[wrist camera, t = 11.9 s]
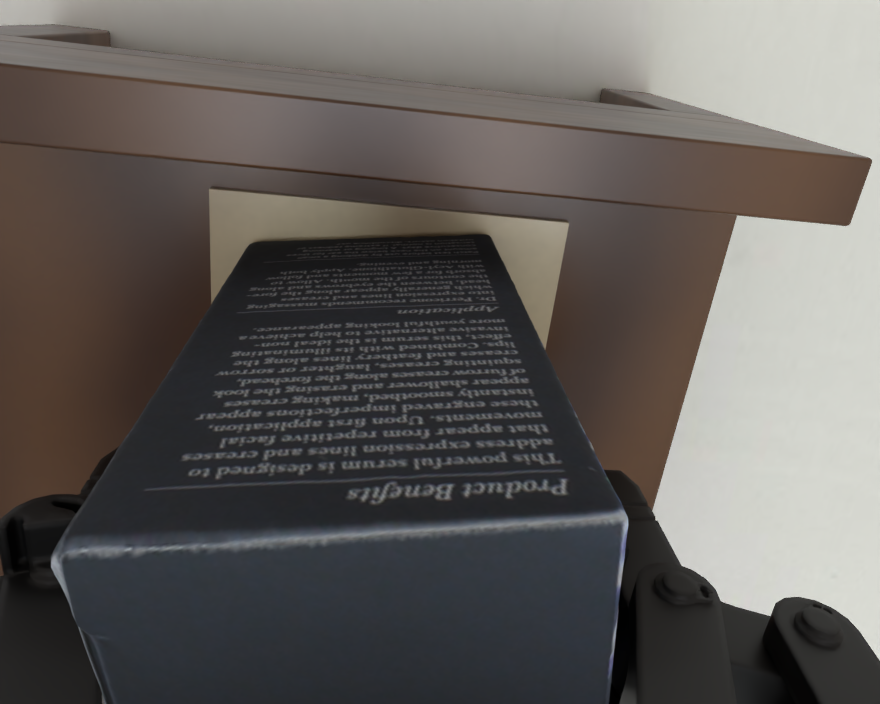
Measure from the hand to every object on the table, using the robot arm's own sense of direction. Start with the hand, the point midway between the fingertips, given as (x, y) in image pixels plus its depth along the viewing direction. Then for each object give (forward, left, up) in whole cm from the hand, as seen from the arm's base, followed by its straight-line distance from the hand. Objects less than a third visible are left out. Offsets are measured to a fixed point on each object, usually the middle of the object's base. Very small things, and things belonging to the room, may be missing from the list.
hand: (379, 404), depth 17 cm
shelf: (-1, 0, -9) cm, 9 cm away
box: (0, 0, -1) cm, 1 cm away
